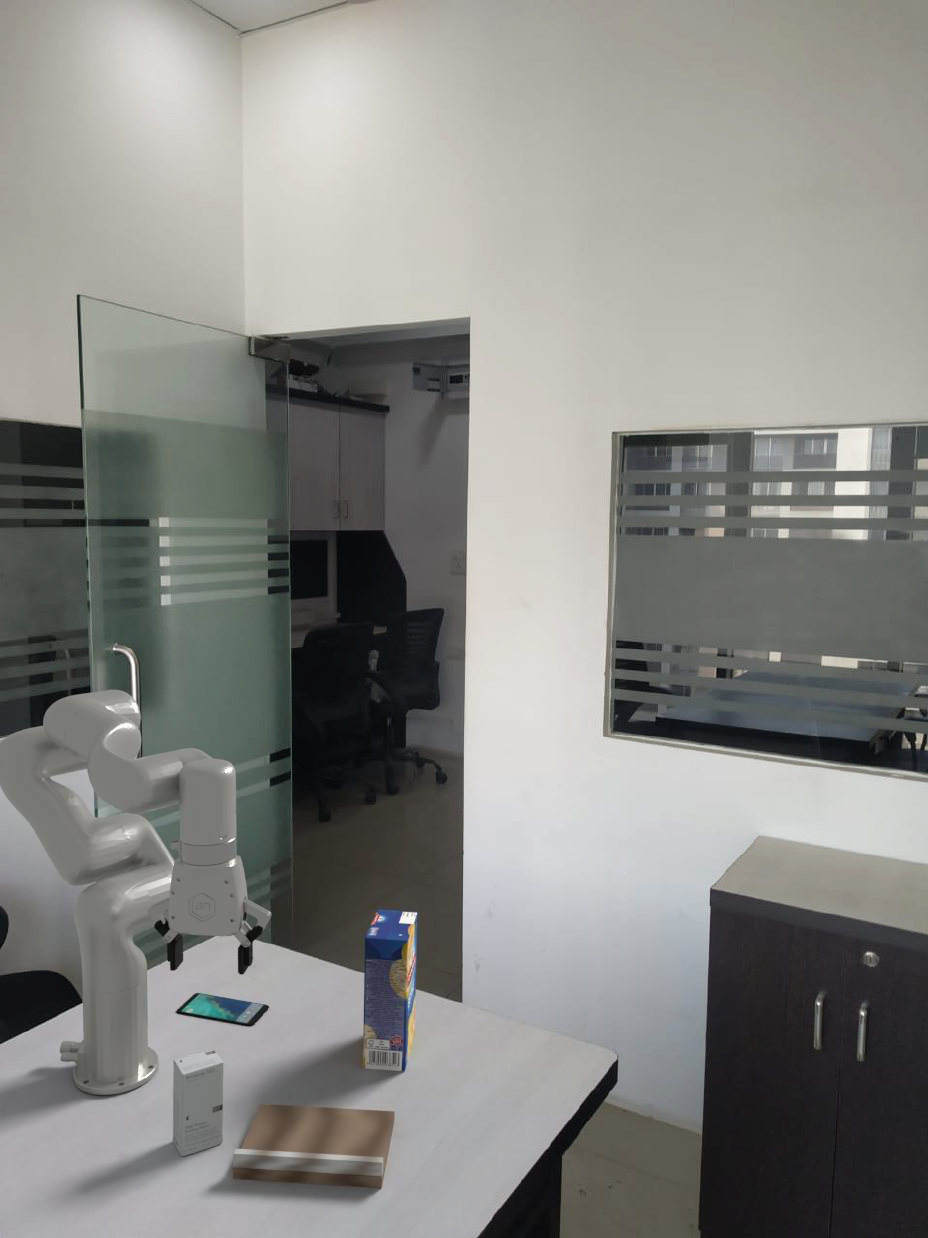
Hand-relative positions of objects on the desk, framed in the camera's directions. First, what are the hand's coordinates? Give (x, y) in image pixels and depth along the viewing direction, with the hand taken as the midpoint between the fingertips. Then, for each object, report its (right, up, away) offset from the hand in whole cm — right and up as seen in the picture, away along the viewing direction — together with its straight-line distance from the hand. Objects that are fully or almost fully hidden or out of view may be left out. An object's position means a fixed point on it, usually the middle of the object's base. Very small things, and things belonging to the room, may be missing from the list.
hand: (210, 968), depth 134 cm
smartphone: (-7, -21, +36) cm, 43 cm away
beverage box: (+23, -23, +25) cm, 41 cm away
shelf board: (+15, -26, +1) cm, 30 cm away
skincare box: (-2, -25, +1) cm, 25 cm away
